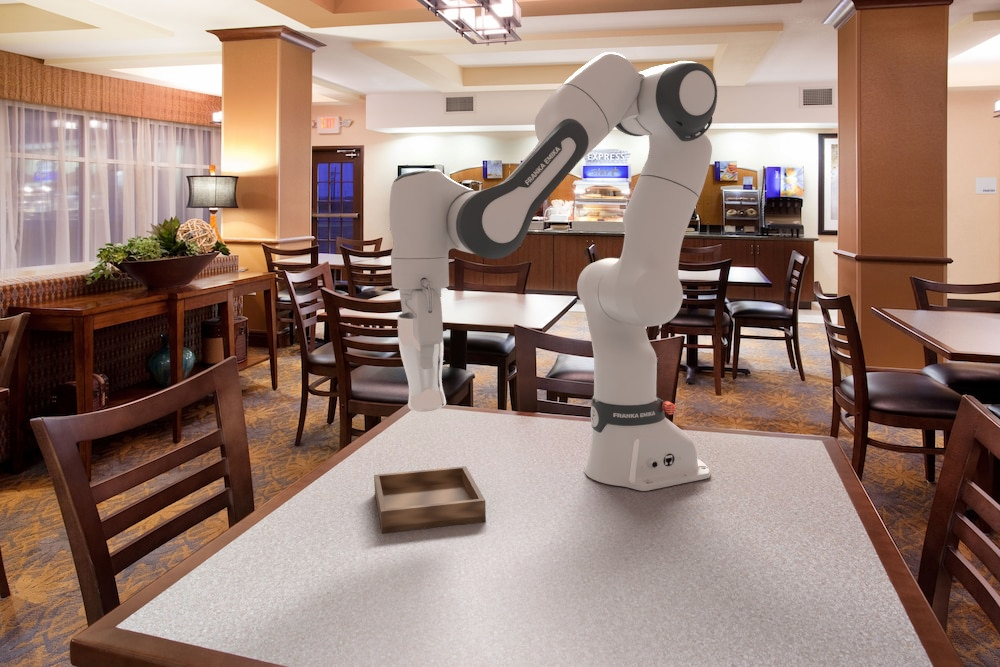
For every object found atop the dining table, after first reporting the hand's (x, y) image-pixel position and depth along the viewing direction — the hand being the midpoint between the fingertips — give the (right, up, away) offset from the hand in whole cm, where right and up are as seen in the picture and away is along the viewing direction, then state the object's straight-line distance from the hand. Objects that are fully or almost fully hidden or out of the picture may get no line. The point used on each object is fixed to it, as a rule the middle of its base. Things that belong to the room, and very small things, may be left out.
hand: (423, 363), depth 114 cm
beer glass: (0, -7, +2) cm, 7 cm away
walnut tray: (0, -24, +4) cm, 24 cm away
